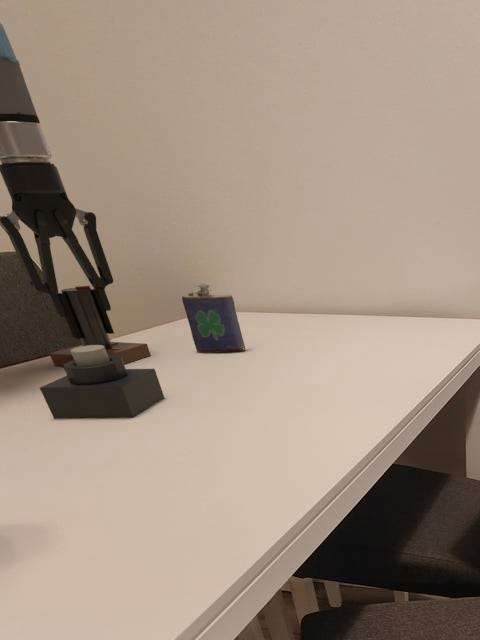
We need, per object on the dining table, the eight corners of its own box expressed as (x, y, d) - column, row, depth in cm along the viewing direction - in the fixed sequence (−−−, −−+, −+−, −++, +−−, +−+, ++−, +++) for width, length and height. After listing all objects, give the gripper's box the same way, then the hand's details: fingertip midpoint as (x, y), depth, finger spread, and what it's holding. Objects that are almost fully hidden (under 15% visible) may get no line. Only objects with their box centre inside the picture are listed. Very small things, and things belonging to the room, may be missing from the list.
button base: (53, 419, 78) (31, 371, 75) (91, 399, 85) (73, 354, 82) (133, 418, 78) (114, 369, 74) (164, 398, 85) (149, 353, 81)
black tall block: (84, 352, 101) (59, 289, 95) (84, 347, 104) (60, 286, 98) (113, 348, 102) (89, 287, 96) (112, 344, 105) (89, 284, 100)
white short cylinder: (70, 369, 77) (63, 352, 75) (88, 361, 80) (81, 345, 78) (100, 368, 76) (93, 351, 75) (116, 361, 80) (110, 344, 78)
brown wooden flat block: (54, 365, 102) (48, 352, 101) (99, 352, 109) (94, 339, 108) (108, 369, 99) (103, 355, 98) (151, 355, 106) (146, 342, 105)
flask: (247, 349, 109) (231, 282, 102) (241, 352, 106) (224, 284, 100) (200, 349, 110) (180, 283, 103) (193, 353, 107) (172, 285, 101)
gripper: (81, 162, 94) (137, 324, 109) (-50, 163, 85) (31, 340, 99) (96, 160, 90) (152, 329, 104) (-40, 161, 80) (43, 347, 95)
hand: (93, 334), depth 102 cm, fingers closed on black tall block, 4 cm apart
